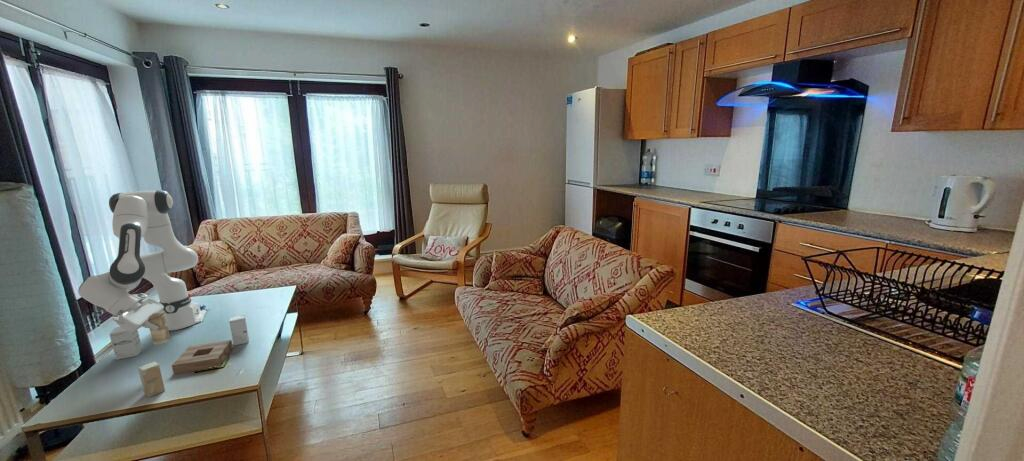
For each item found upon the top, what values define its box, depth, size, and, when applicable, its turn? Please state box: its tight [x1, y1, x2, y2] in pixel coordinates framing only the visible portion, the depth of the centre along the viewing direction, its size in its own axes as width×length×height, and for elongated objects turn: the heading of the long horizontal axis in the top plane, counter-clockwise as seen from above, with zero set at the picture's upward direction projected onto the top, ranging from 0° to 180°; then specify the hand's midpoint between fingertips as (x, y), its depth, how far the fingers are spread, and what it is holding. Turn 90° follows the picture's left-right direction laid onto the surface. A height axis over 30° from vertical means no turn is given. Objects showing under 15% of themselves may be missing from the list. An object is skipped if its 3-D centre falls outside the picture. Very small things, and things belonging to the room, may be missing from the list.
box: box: [137, 361, 166, 398], centre depth 152 cm, size 5×4×11 cm
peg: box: [148, 311, 171, 345], centre depth 166 cm, size 4×4×12 cm
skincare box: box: [228, 314, 250, 346], centre depth 187 cm, size 6×4×12 cm
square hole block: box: [171, 339, 234, 375], centre depth 173 cm, size 16×16×4 cm
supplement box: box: [109, 326, 143, 361], centre depth 180 cm, size 7×7×13 cm
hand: (161, 325), depth 166 cm, fingers closed on peg, 4 cm apart
